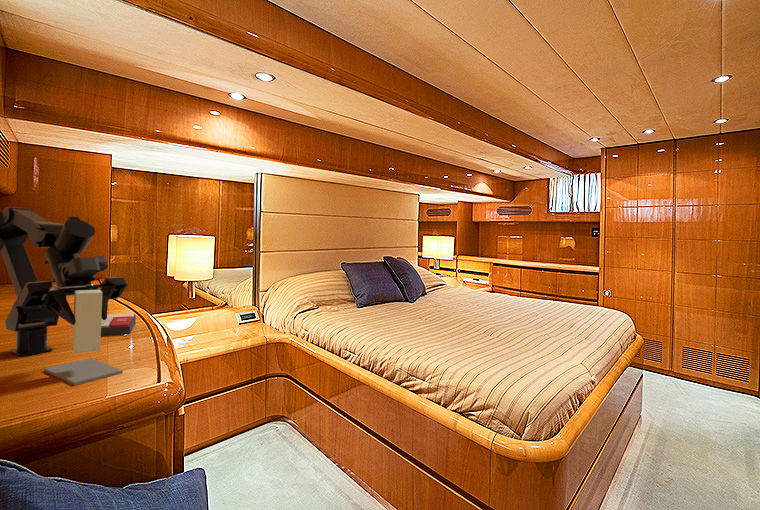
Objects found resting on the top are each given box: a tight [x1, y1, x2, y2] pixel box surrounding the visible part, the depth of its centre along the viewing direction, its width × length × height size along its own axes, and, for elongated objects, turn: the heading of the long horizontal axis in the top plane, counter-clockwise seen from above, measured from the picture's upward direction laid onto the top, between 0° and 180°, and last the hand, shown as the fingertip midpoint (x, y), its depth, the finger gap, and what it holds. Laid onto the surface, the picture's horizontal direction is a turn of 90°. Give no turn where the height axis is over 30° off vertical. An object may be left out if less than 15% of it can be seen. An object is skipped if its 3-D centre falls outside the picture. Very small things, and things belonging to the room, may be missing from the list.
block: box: [72, 290, 102, 355], centre depth 83 cm, size 4×4×13 cm
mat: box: [43, 357, 124, 386], centre depth 84 cm, size 14×9×1 cm, turn 62°
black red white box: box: [101, 313, 137, 337], centre depth 119 cm, size 11×4×15 cm
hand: (90, 321), depth 82 cm, fingers closed on block, 6 cm apart
